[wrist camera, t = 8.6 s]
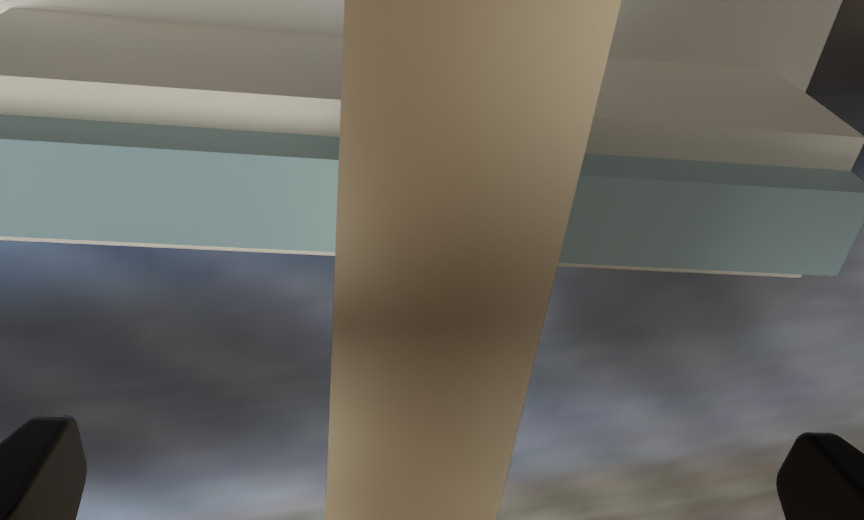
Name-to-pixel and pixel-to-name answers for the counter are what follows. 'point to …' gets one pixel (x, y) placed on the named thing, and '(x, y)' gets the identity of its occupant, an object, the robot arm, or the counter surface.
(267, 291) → the counter surface
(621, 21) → the ridge stand
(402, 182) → the birch bar
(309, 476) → the counter surface
